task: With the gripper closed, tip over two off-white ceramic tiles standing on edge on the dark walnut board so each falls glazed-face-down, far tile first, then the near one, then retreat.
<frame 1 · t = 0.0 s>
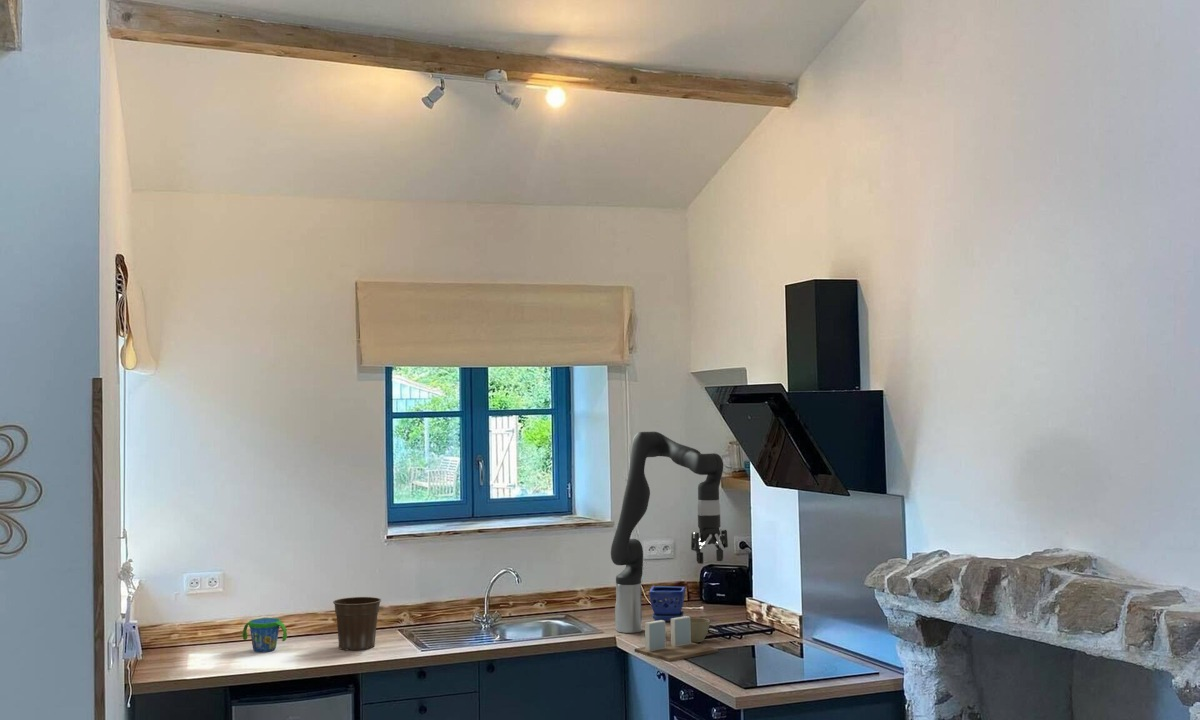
hand: (710, 562, 348), 29 cm above the counter, fingers open, 8 cm apart
flower pot: (667, 619, 403), on the counter
flower pot 2: (695, 641, 363), on the counter
tile near: (655, 649, 346), point 1 cm above the counter, touching board
plant pot: (357, 647, 362), on the counter
board: (676, 651, 346), on the counter
tile far: (680, 644, 353), point 1 cm above the counter, touching board
snack cup: (264, 650, 359), on the counter
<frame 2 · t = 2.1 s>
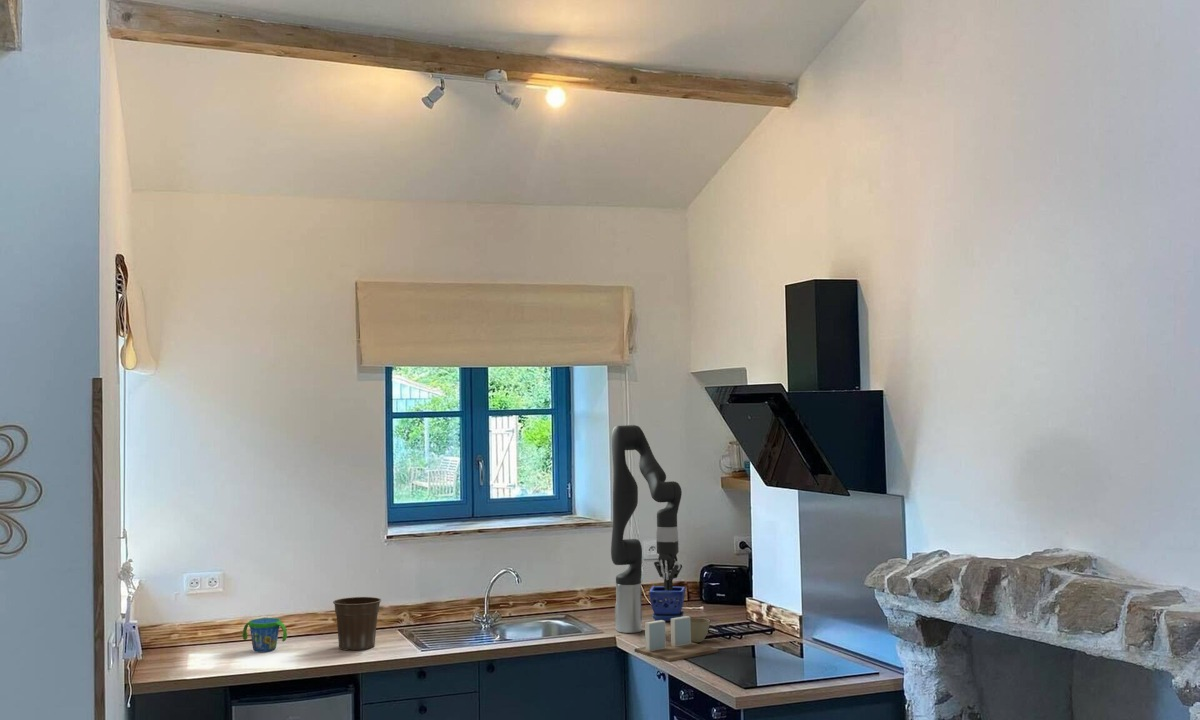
hand: (668, 590, 358), 18 cm above the counter, fingers closed
nothing on the counter moved.
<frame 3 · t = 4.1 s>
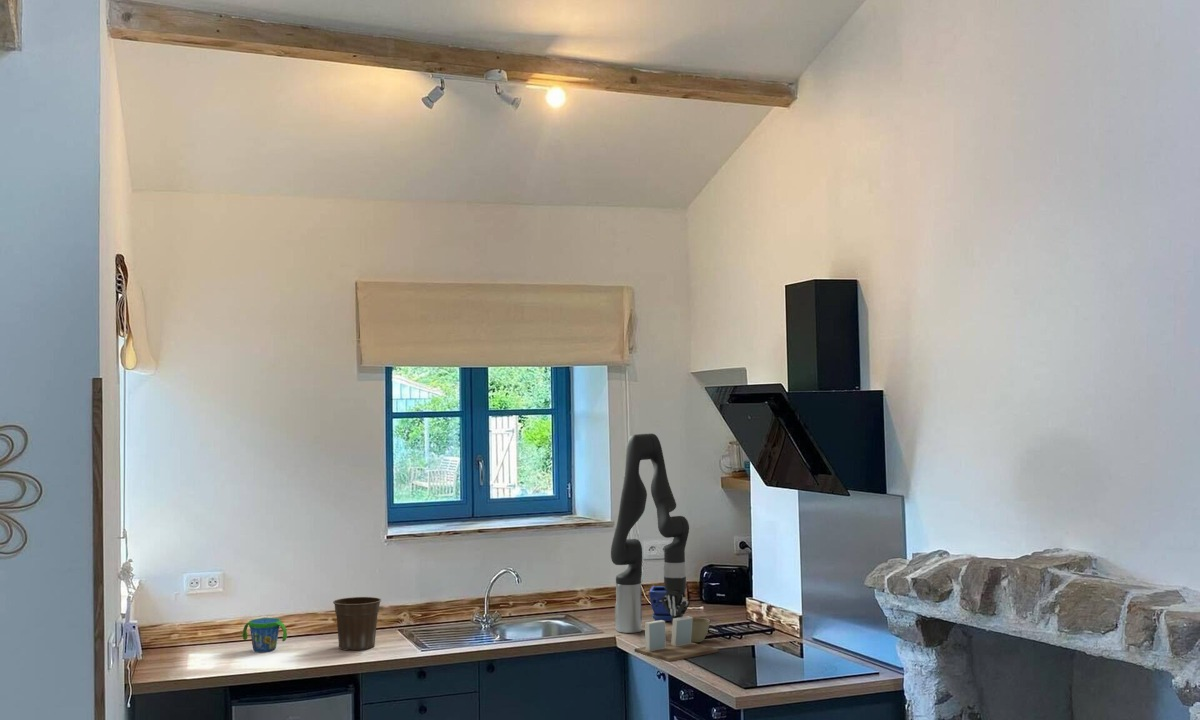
hand: (676, 626, 355), 7 cm above the counter, fingers closed
tile far: (680, 644, 353), point 1 cm above the counter, tilted 8°, touching board
everything else where it was.
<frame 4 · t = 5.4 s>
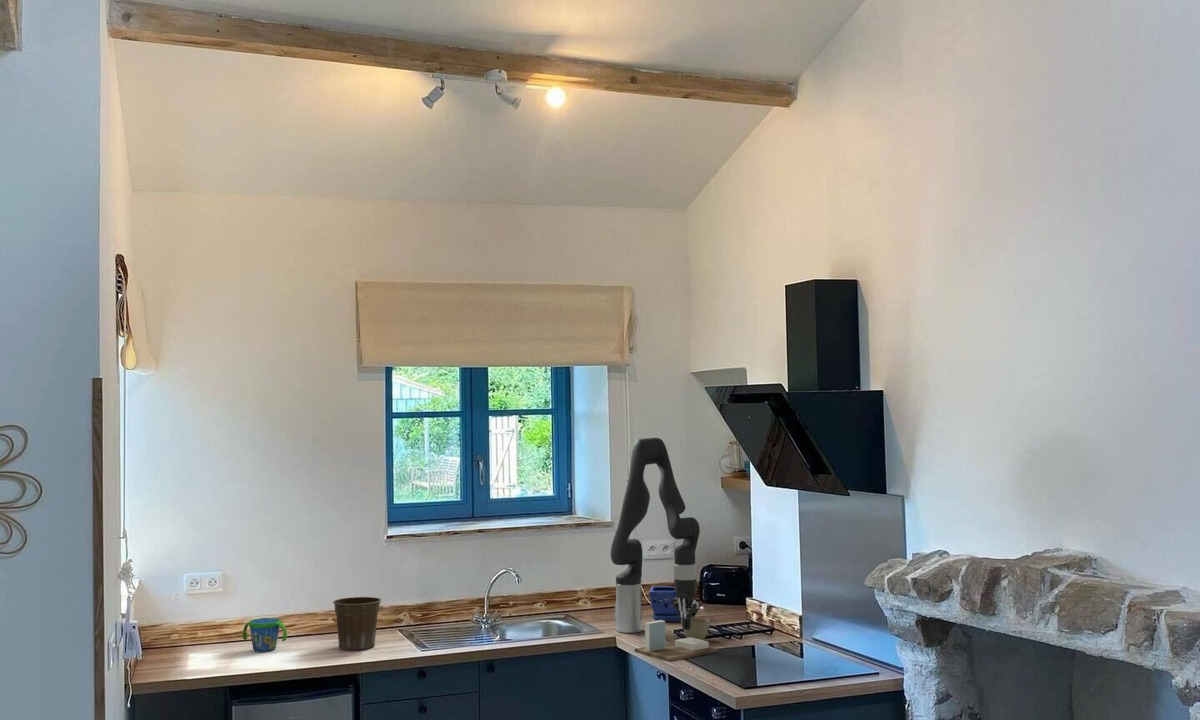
hand: (686, 629, 350), 7 cm above the counter, fingers closed
tile far: (683, 641, 352), point 2 cm above the counter, tilted 90°, touching board
everything else where it was.
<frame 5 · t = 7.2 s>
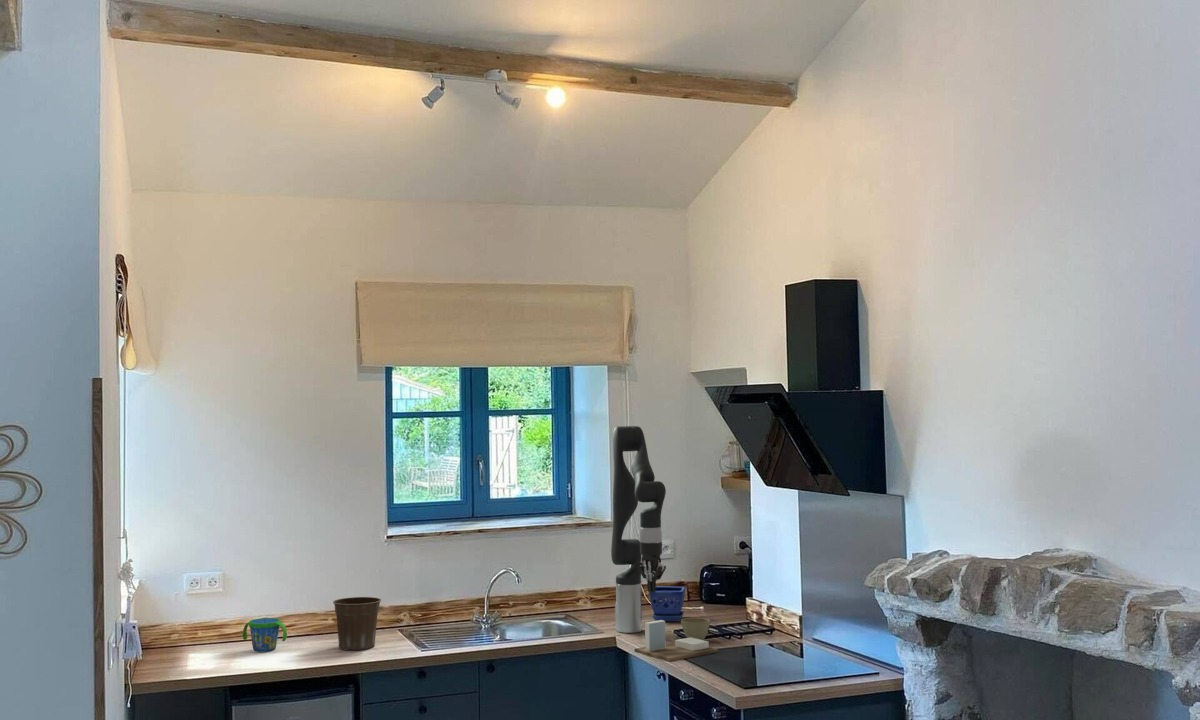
hand: (651, 592, 353), 19 cm above the counter, fingers closed
nothing on the counter moved.
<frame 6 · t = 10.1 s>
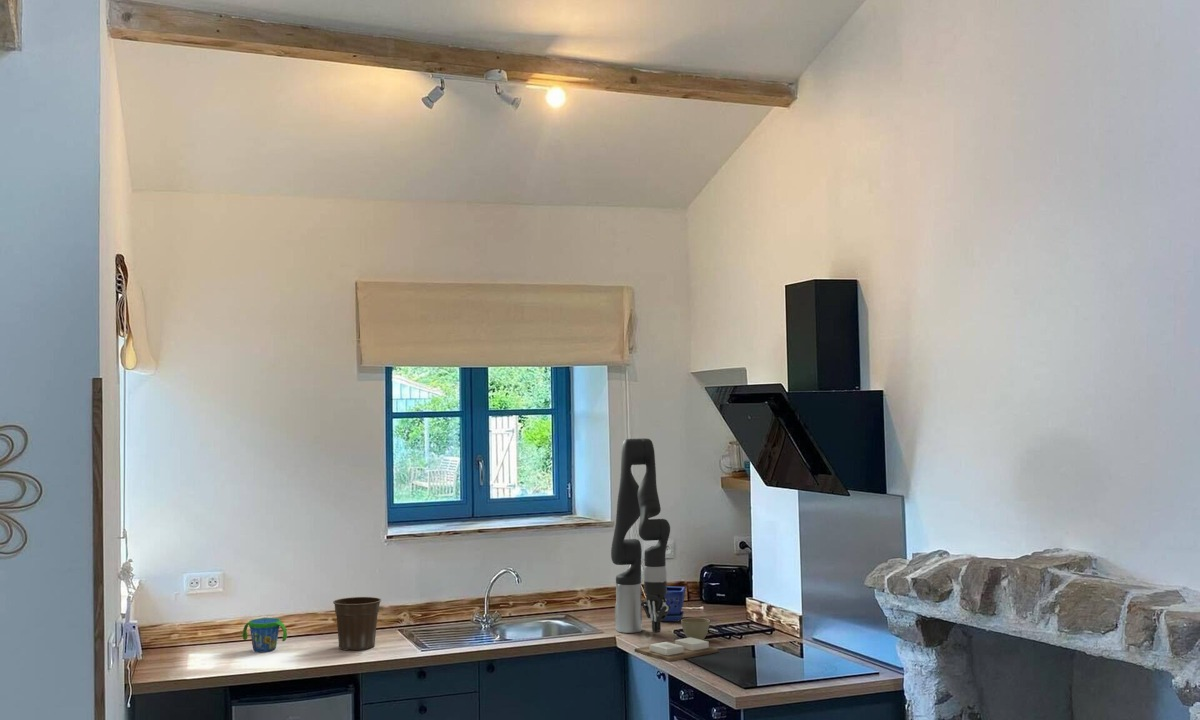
hand: (656, 632, 346), 7 cm above the counter, fingers closed
tile near: (657, 646, 345), point 2 cm above the counter, tilted 90°, touching board
everything else where it was.
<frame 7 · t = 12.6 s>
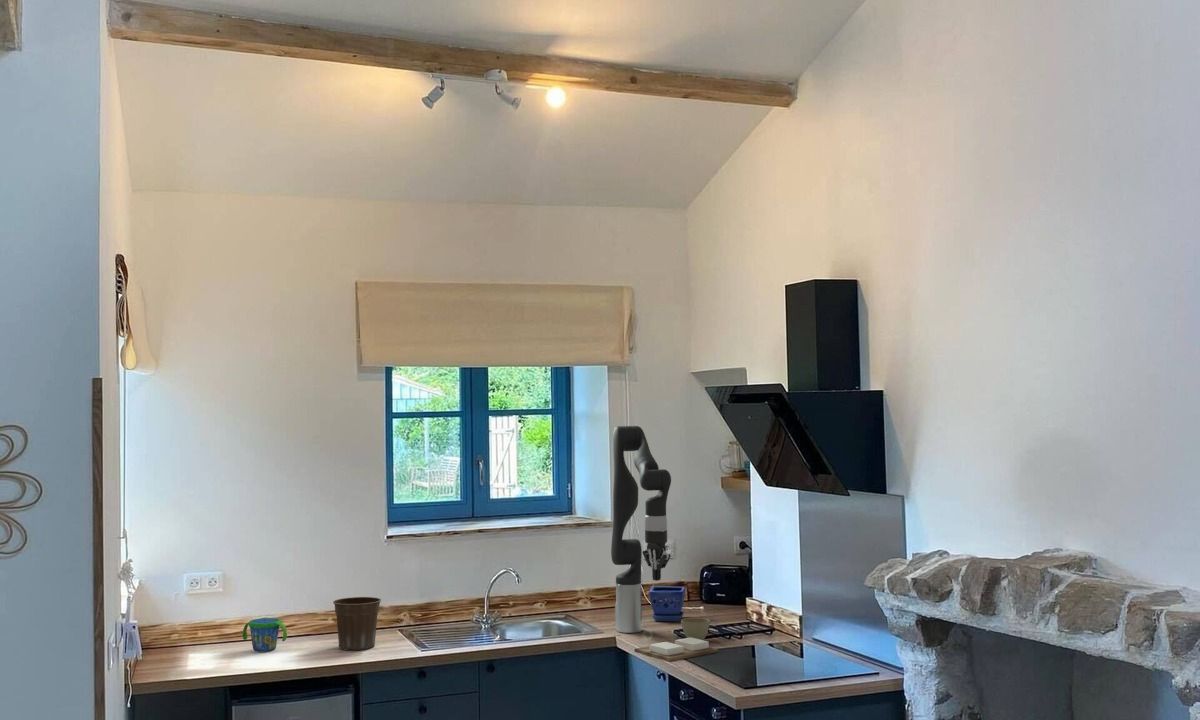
hand: (656, 580, 352), 23 cm above the counter, fingers closed
nothing on the counter moved.
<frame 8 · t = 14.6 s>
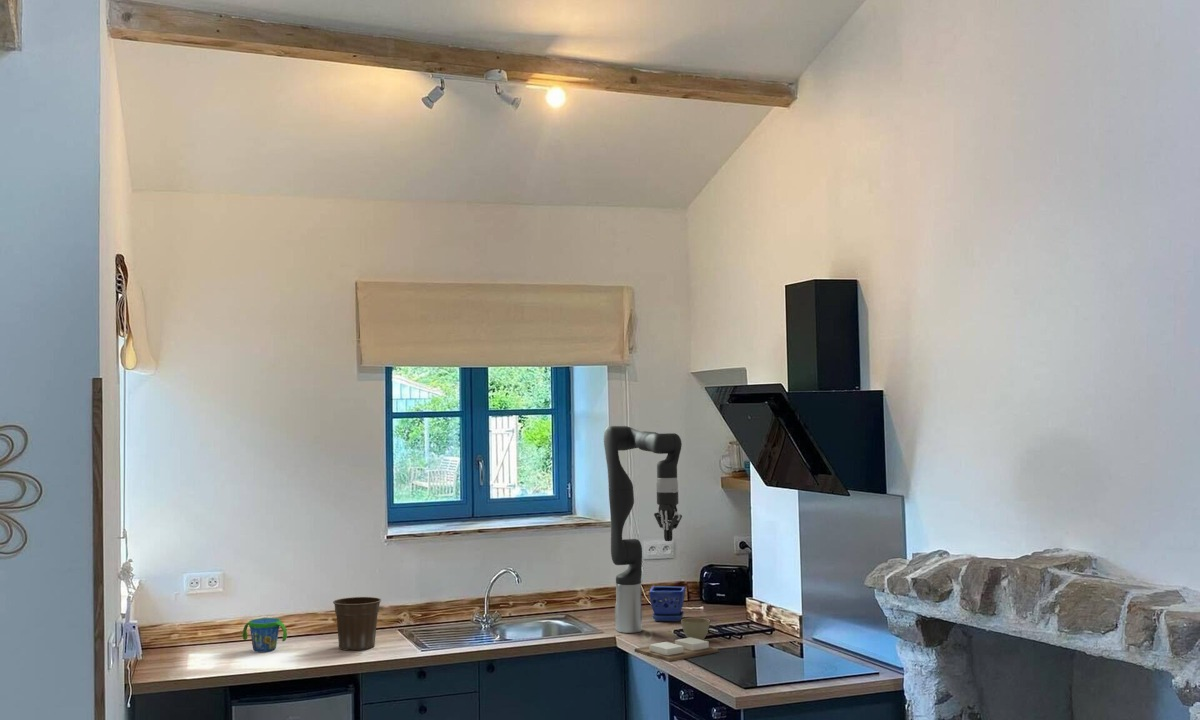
hand: (668, 540, 362), 35 cm above the counter, fingers closed
nothing on the counter moved.
at the end: tile far tilted 90°; tile near tilted 90°; tile near inside the target area on the board (6.7 cm from its centre), point 2.1 cm above the board's base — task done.
